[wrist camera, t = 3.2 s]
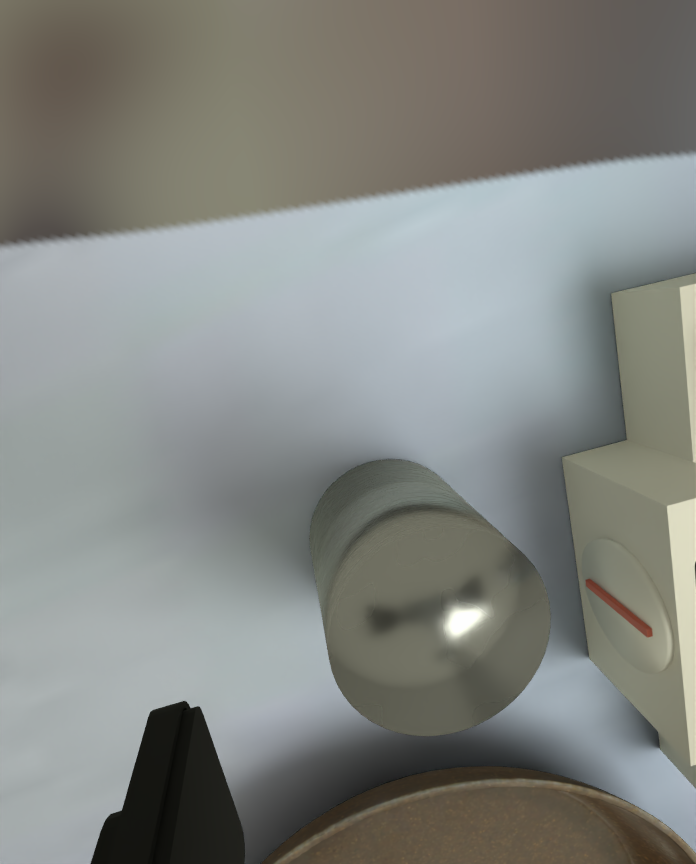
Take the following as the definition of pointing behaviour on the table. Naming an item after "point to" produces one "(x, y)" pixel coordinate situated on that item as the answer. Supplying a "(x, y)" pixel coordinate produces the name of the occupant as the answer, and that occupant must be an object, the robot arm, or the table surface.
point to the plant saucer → (484, 824)
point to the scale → (645, 518)
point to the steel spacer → (423, 601)
